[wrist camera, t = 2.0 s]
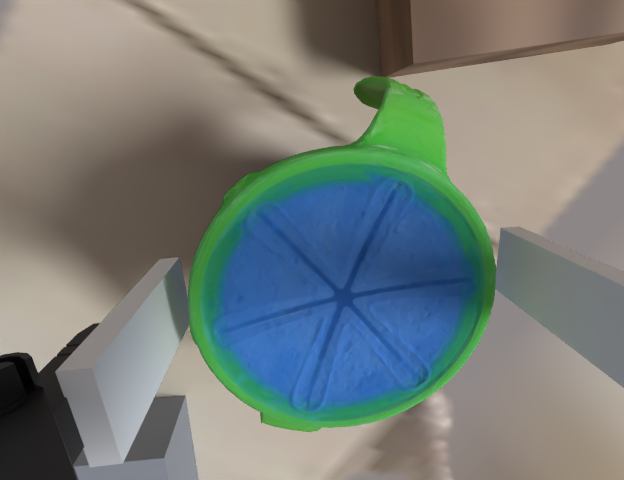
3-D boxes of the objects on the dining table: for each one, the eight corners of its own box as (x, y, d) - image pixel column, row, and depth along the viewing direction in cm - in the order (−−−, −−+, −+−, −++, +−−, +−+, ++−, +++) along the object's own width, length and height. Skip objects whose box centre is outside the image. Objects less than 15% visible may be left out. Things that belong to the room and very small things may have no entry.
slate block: (89, 489, 26) (48, 569, 21) (64, 403, 24) (11, 472, 19) (199, 478, 27) (182, 553, 22) (186, 393, 24) (164, 458, 20)
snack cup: (334, 355, 24) (373, 505, 15) (186, 302, 22) (117, 439, 12) (453, 145, 21) (609, 161, 11) (290, 56, 18) (306, -24, 9)
